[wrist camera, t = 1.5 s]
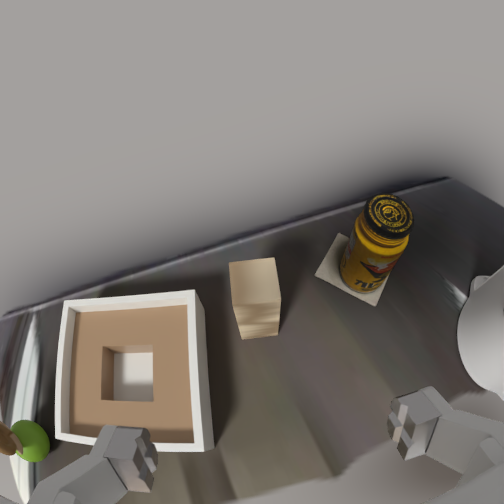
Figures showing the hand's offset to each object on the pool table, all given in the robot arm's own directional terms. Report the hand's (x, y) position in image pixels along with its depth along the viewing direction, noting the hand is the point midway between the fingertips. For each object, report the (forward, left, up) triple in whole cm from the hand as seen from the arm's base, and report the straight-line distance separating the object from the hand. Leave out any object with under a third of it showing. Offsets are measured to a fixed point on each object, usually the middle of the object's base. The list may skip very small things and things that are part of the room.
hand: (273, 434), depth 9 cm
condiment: (-13, -17, -23) cm, 32 cm away
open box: (+14, -6, -23) cm, 28 cm away
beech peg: (0, -12, -23) cm, 26 cm away
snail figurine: (+29, +3, -23) cm, 37 cm away
